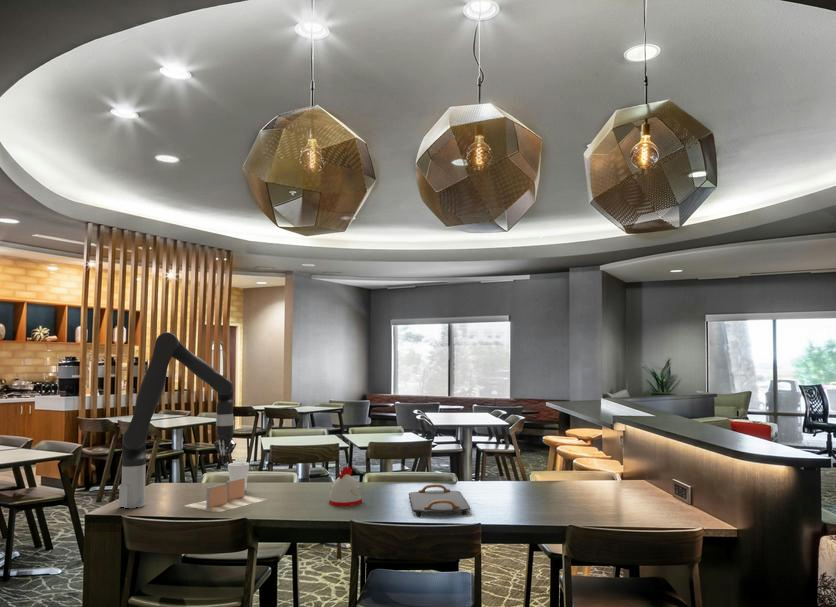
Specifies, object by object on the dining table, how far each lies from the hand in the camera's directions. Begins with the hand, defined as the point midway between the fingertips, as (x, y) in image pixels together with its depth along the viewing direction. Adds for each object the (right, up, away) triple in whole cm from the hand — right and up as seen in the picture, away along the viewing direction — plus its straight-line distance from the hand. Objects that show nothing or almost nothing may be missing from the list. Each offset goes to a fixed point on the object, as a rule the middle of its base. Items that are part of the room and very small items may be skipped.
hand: (224, 463), depth 283 cm
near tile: (+2, -13, -18) cm, 22 cm away
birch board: (+5, -14, -13) cm, 20 cm away
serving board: (+94, -13, -20) cm, 97 cm away
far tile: (+6, -14, -5) cm, 16 cm away
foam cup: (+2, -17, +13) cm, 21 cm away
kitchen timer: (+55, -14, -11) cm, 58 cm away
